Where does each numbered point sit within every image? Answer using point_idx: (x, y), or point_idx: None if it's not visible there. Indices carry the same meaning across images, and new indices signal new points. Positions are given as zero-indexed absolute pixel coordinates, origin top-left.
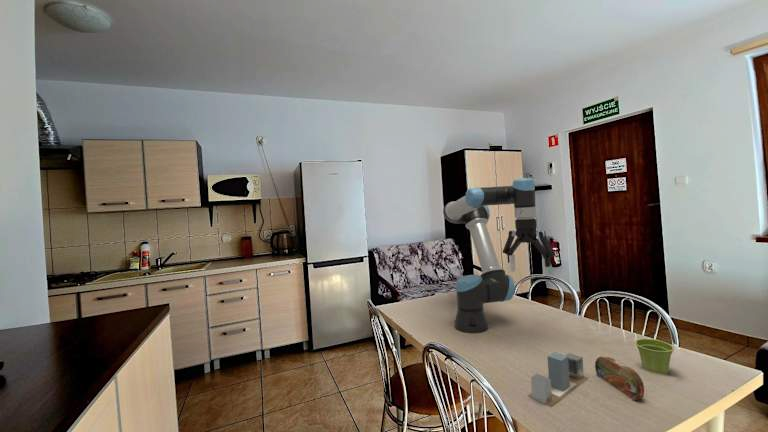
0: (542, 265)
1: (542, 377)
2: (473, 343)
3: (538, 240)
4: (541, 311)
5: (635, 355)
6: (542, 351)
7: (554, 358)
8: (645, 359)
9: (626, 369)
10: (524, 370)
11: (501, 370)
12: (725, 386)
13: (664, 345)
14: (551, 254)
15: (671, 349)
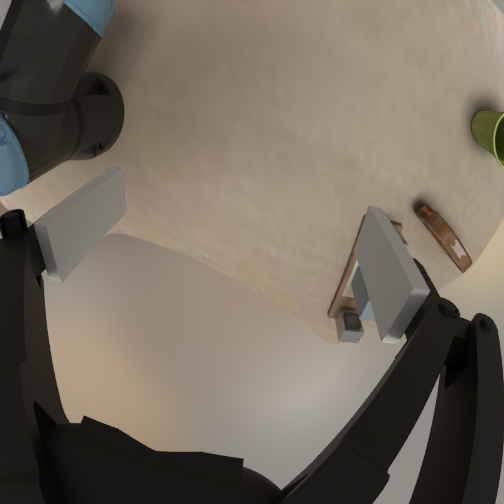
0: (369, 297)
1: (353, 335)
2: (150, 194)
3: (378, 489)
4: None
5: (458, 64)
6: (297, 137)
7: (370, 320)
8: (488, 150)
9: (462, 266)
10: (296, 244)
11: (261, 265)
12: None
13: None
14: (461, 373)
15: None
